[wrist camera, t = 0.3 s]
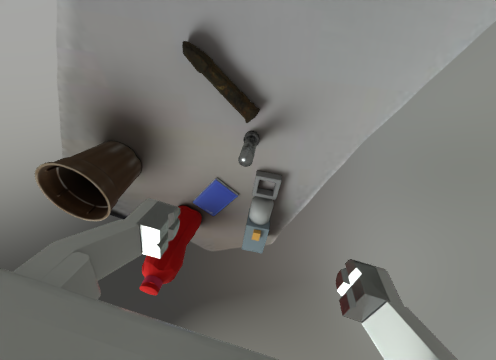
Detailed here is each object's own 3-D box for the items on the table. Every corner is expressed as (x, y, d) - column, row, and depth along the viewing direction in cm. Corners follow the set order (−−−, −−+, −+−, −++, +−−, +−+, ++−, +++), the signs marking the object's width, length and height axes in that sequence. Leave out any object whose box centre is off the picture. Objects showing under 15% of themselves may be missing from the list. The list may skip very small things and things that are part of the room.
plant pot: (96, 173, 61) (46, 209, 48) (87, 124, 52) (21, 152, 39) (148, 189, 62) (113, 229, 49) (148, 144, 53) (105, 178, 40)
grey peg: (245, 129, 47) (237, 150, 38) (260, 132, 47) (256, 154, 38) (243, 143, 49) (235, 166, 40) (258, 146, 49) (253, 169, 40)
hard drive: (213, 217, 64) (238, 196, 58) (192, 202, 61) (215, 179, 55) (214, 213, 65) (238, 193, 59) (194, 199, 63) (216, 176, 56)
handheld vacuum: (256, 170, 53) (253, 189, 46) (281, 175, 53) (281, 194, 46) (244, 231, 67) (240, 252, 61) (263, 235, 67) (262, 256, 60)
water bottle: (170, 220, 69) (124, 295, 49) (179, 200, 63) (131, 276, 43) (195, 231, 71) (160, 308, 50) (206, 213, 65) (171, 291, 44)
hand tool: (261, 108, 44) (260, 114, 40) (248, 120, 46) (245, 126, 42) (196, 29, 37) (187, 28, 34) (184, 47, 39) (173, 47, 35)
